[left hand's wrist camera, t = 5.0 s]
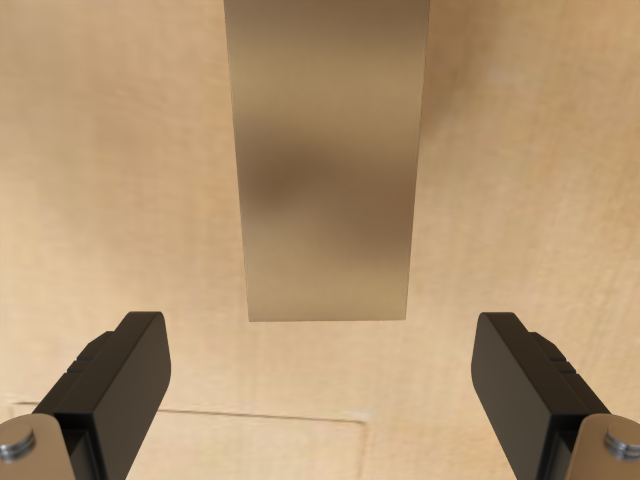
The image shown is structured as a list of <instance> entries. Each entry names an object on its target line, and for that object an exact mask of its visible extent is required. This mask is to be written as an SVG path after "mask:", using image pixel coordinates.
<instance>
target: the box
mask: <svg viewBox="0 0 640 480" xmlns="http://www.w3.org/2000/svg"><path fill="white" fill-rule="evenodd" d="M429 7H430V0H224V10H225V23H226V35H227V48H228V61H229V73H230V86H231V99H232V111H233V124H234V137H235V149H236V162H237V175H238V187H239V200H240V213H241V225H242V238H243V251H244V263H245V276H246V289H247V301H248V314H249V321H250V322H268V321H370V320H405V319H406V306H407V293H408V280H409V267H410V254H411V241H412V228H413V215H414V202H415V189H416V176H417V163H418V150H419V137H420V124H421V111H422V98H423V85H424V72H425V59H426V46H427V33H428V20H429Z"/></svg>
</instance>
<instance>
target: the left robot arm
mask: <svg viewBox="0 0 640 480" xmlns="http://www.w3.org/2000/svg"><path fill="white" fill-rule="evenodd" d="M471 375H472V382H473V386H474V388H475V391H476V393H477V395H478V397H479V399H480V402H481V404H482V406H483V408H484V410H485V412H486V414H487V416H488V419H489V421H490V423H491V425H492V427H493V429H494V431H495V433H496V436H497V438H498V440H499V442H500V444H501V446H502V448H503V451H504V453H505V455H506V457H507V459H508V461H509V463H510V465H511V468H512V470H513V472H514V474H515V476H516V478H517V480H640V424H638V423H636V422H634V421H632V420H630V419H627V418H624V417H621V416H617V415H613V414H611V413H610V411H609V410H608V409H607V408H606V407H605V405H604V404H603V403H602V402H601V400H600V399H599V398H598V397H597V396H596V394H595V393H594V392H593V391H592V390H591V388H590V387H589V386H588V385H587V383H586V382H585V381H584V380H583V379H582V377H581V376H580V375H579V374H576V370H575V369H574V368H573V366H572V365H571V364H570V363H569V362H567V361H566V358H565V357H564V355H563V354H562V353H561V352H560V351H559V349H558V348H557V347H556V346H555V345H554V344H553V343H552V342H550V341H548V340H547V339H545V338H544V337H542V336H541V335H539V334H538V333H536V332H528V331H527V329H526V328H525V327H524V325H523V324H522V323H521V321H520V320H519V319H518V317H517V316H516V315H515V314H514V313H512V312H482V313H481V314H480V315H479V318H478V322H477V329H476V336H475V342H474V349H473V356H472V363H471ZM170 376H171V360H170V353H169V346H168V340H167V333H166V326H165V320H164V316H163V314H162V313H161V312H129V313H128V314H127V315H126V316H125V318H124V319H123V320H122V321H121V323H120V324H119V325H118V327H117V328H116V329H115V331H106V332H105V333H103V334H102V335H100V336H99V337H97V338H96V339H94V340H93V341H91V342H90V343H88V345H87V346H86V347H85V348H84V350H83V351H82V352H81V353H80V354H79V356H78V357H77V360H76V361H74V362H73V363H72V364H71V366H70V367H69V368H68V369H67V373H64V374H63V375H62V377H61V378H60V379H59V380H58V381H57V383H56V384H55V385H54V386H53V388H52V389H51V390H50V391H49V393H48V394H47V395H46V396H45V397H44V399H43V400H42V401H41V402H40V404H39V405H38V406H37V407H36V408H35V410H34V411H33V412H32V413H31V414H27V415H23V416H19V417H16V418H13V419H10V420H8V421H6V422H4V423H2V424H0V480H125V479H126V477H127V475H128V473H129V470H130V468H131V466H132V464H133V462H134V460H135V458H136V455H137V453H138V451H139V449H140V447H141V445H142V442H143V440H144V438H145V436H146V434H147V432H148V429H149V427H150V425H151V423H152V421H153V419H154V417H155V414H156V412H157V410H158V408H159V406H160V404H161V401H162V399H163V397H164V395H165V393H166V391H167V388H168V386H169V382H170Z"/></svg>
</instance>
